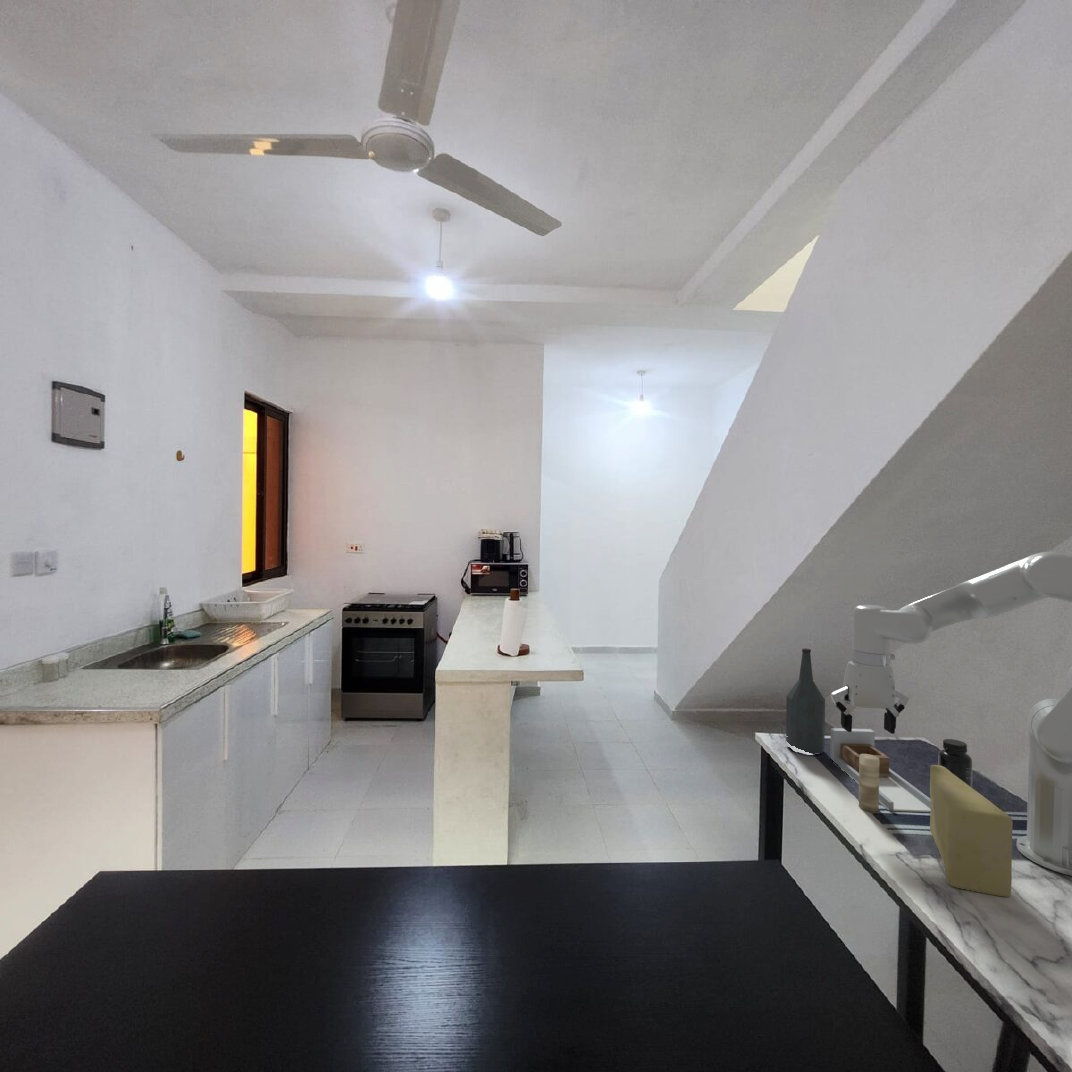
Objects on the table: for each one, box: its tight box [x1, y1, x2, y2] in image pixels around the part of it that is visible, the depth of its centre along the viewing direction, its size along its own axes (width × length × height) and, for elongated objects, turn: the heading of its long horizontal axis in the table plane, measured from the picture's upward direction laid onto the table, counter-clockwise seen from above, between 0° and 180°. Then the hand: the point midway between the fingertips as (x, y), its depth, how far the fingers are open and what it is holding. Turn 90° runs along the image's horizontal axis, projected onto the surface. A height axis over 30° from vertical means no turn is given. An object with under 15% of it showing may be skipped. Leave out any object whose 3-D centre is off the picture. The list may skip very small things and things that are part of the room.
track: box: [829, 727, 931, 813], centre depth 140 cm, size 28×11×9 cm, turn 177°
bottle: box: [785, 648, 826, 754], centre depth 161 cm, size 10×10×30 cm
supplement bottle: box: [937, 738, 973, 788], centre depth 137 cm, size 7×7×12 cm
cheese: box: [929, 764, 1014, 898], centre depth 108 cm, size 22×10×15 cm, turn 162°
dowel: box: [858, 754, 880, 813], centre depth 127 cm, size 4×4×12 cm
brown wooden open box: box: [840, 743, 890, 777], centre depth 147 cm, size 9×8×5 cm
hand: (867, 730), depth 128 cm, fingers open, 9 cm apart
